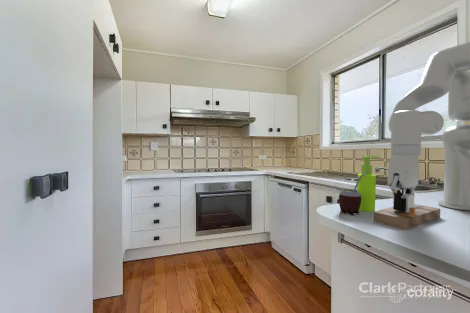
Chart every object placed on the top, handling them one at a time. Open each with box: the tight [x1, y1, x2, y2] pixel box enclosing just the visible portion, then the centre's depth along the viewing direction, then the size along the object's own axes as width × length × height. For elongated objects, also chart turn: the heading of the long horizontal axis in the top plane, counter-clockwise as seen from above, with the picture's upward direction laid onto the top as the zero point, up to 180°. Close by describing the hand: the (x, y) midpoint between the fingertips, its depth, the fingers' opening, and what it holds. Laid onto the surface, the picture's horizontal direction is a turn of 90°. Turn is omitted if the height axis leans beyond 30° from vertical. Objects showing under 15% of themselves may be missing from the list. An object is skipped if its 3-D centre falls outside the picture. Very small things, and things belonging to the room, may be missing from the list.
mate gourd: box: [338, 172, 368, 216], centre depth 82 cm, size 8×8×15 cm
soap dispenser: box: [356, 155, 380, 213], centre depth 86 cm, size 6×7×20 cm
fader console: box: [372, 203, 441, 231], centre depth 76 cm, size 23×9×6 cm, turn 121°
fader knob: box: [392, 193, 415, 213], centre depth 74 cm, size 4×4×5 cm
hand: (403, 208), depth 74 cm, fingers closed on fader knob, 4 cm apart
